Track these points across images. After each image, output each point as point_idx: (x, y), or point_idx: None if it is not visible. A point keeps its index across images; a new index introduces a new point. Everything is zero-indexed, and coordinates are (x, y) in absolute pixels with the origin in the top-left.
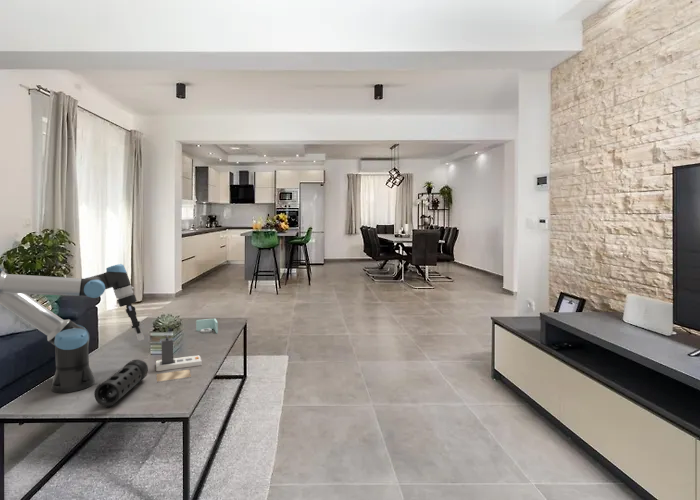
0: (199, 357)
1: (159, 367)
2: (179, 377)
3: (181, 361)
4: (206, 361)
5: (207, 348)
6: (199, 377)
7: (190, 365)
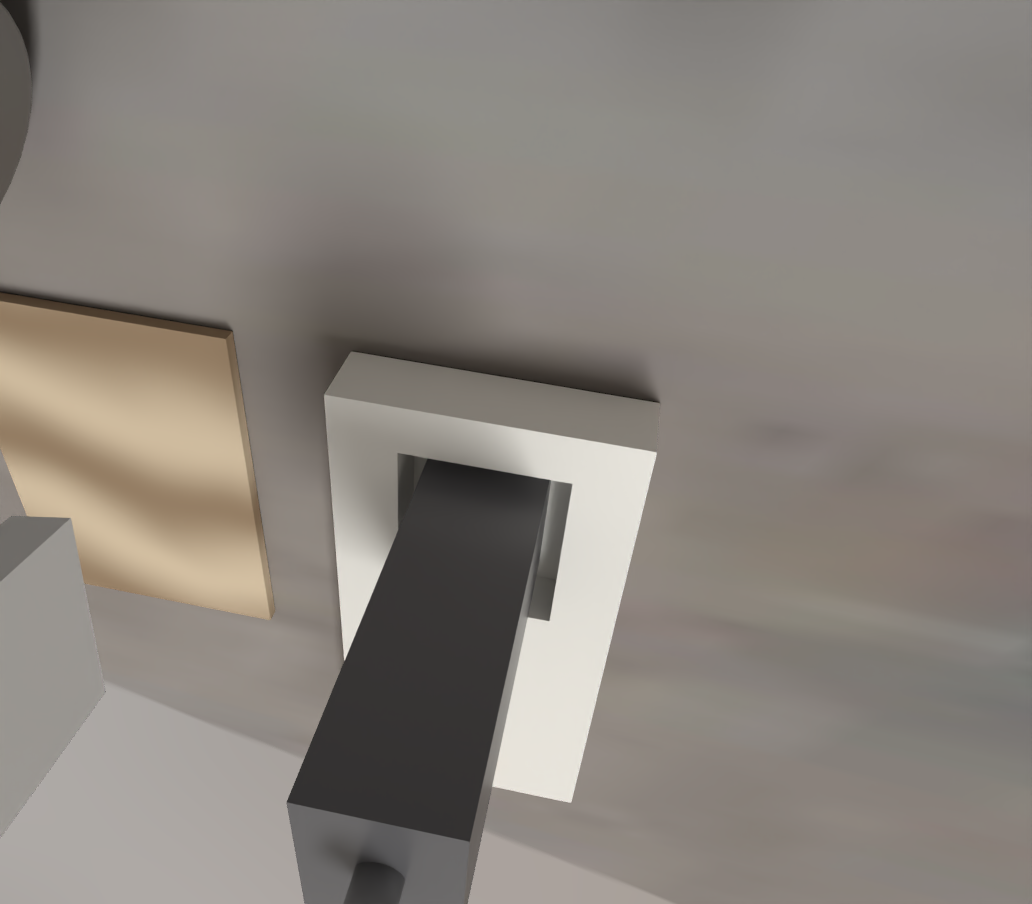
0: None
1: (329, 421)
2: (43, 500)
3: None
4: None
5: (942, 896)
6: None
7: None
